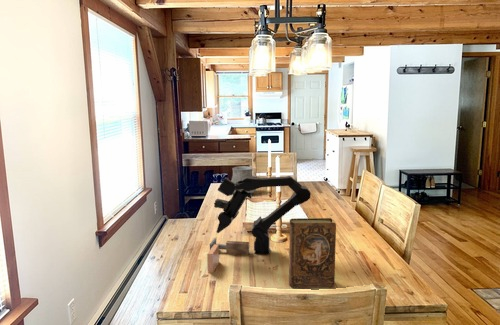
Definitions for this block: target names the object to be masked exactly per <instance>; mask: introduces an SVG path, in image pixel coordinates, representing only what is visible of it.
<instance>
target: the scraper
mask: <svg viewBox="0 0 500 325" xmlns="http://www.w3.org/2000/svg"><path fill="white" fill-rule="evenodd" d="M214 244H216V245H219V250H222V251H223V250H224V251H225V250H226V251H225V253H226V254H229V255H243V256H245V255H246V256H248V255H249V254H250V242H249V241H237V240H236V241H235V240H227V241H226V243H225V244H223V243H222V244H221V243H217V237H214V238H213V239H212V240H211V242H210V243H209V251H210V250H211V248H212V247H213V245H214Z"/></svg>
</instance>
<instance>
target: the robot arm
mask: <svg viewBox="0 0 500 325" xmlns="http://www.w3.org/2000/svg"><path fill="white" fill-rule="evenodd" d="M286 186H287V187H288V188H290V190H292V191H293V192H292V194H291V196H290V197H289V198H288V199H287V200H286V201H284V202H283V203H281V205H280V206H278V207H277V208H276V209H274V210H273V211H272V212H271V213H269V214H268V215H267V216H266V217H263V218H262V216H259V217H258V218H257V219H256V220H253V223H252V226H251V235H252V236H253V237H254V238H255V240H254V242H253V250H254V254H255V255H269V254H270V251H271V248H270V246H271V245H270V233H269V229H270V228H271V226H273V224H275V223H276V222H277V221H279V220H280V219H281V218H283V216H284V215H286V214H287V213H288V212H290V211H291V210H292V209H294V208H295V207H297V206H300V205H302V204H305V203H306V202H307V201H309V200H310V199H311V192H310V190H309V188H308V187H307V186H305V185H302V184H301V183H299V182H298V181H297V180H296V179H294V178H293V176H292V175H287V176H275V177H272V176H271V177H258V176H245V177H244V178H243V179H242V180H241V181H238V182H236V183H234V182H232V181H231V180H230V179H229V178H228V177H224V179H222V181H221V183H220V184H219V187H218V188H217V191H218V192H220V193H222V194H223V195H225V196H226V197H230V196H231V198H230V199H229V200H224V199H221V198H217V199H215V201H214V203H213V208H216V209H222V211H221V212H219V214H218V216H217V221H218V222H219V223H218V225H217V229H216V233H217V234H220V233H221V232H222V231H224V229H227V227H230V226H231V224H232V223H233V221H234V220H235V219H236V218H237V216H238V215H239V213H240V211H239V210H240V209H241V208H242V206H243V205H244V202H245V200H246V199H247V198H249V199H252V196H253V195H252V193H251V190H255V189H256V190H258V189H261V188H270V187H271V188H273V187H286ZM240 189H242V190H240ZM234 190H236V191H235V193H233V192H234ZM256 190H255V191H256ZM247 191H250V192H247Z"/></svg>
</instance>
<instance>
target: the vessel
mask: <svg viewBox="0 0 500 325" xmlns="http://www.w3.org/2000/svg"><path fill="white" fill-rule="evenodd" d="M231 169H232V176H231V180H230V181H232V182H234V183H236V182H238V181H241V180H242V179H243V178H244V177H245V176H253V169H254V168H253V167H252V166H249V165H247V166H245V165H241V166H235V167H232V168H231ZM240 190H242V189H240ZM256 190H257V189H255V190H251V194H254V193H255V192H256ZM235 191H236V190H234V192H233V194H234V193H235ZM247 192H250V191H247Z"/></svg>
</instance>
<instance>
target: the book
mask: <svg viewBox="0 0 500 325" xmlns="http://www.w3.org/2000/svg"><path fill="white" fill-rule="evenodd" d="M336 235H337V223H336V222H334V221H333V218H331V217H319V218H318V217H317V218H316V217H312V218H311V217H310V218H309V217H308V218H307V217H306V218H303V217H302V218H297V217H296V218H290V219H289V244H288V245H289V249H288V252H289V253H288V254H289V255H288V256H289V259H288V260H289V264H288V265H289V267H288V269H289V270H288V287H290V288H291V289H320V288H321V289H322V288H323V289H325V288H326V289H327V288H333V287H335V281H336V280H335V278H336V242H337V241H336V240H337V239H336V237H337V236H336Z"/></svg>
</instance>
